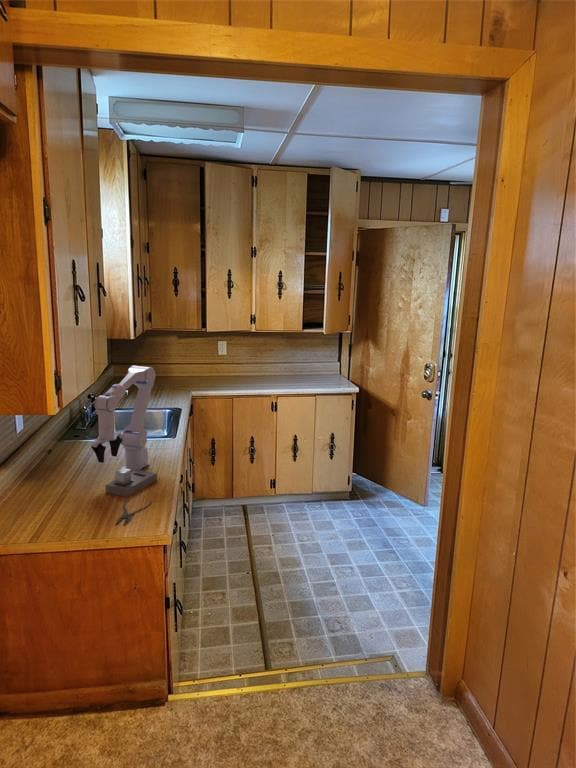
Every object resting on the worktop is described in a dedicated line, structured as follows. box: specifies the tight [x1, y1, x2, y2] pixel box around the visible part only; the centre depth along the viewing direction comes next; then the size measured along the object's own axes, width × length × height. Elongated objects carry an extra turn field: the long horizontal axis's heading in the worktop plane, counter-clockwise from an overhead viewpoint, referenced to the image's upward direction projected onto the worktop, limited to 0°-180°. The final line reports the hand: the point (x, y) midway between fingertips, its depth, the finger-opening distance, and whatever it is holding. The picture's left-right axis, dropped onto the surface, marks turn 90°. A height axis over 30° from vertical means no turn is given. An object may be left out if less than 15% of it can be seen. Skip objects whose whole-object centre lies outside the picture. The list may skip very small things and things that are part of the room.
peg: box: [114, 467, 132, 487], centre depth 185 cm, size 4×4×8 cm
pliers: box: [115, 498, 153, 527], centre depth 169 cm, size 10×1×20 cm
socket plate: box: [104, 469, 158, 498], centre depth 189 cm, size 18×10×3 cm, turn 158°
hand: (107, 459), depth 191 cm, fingers open, 7 cm apart
